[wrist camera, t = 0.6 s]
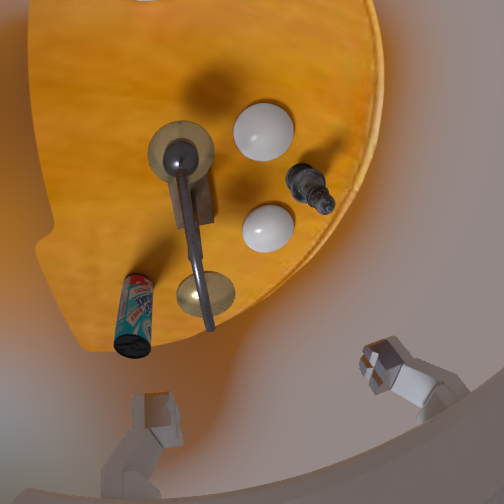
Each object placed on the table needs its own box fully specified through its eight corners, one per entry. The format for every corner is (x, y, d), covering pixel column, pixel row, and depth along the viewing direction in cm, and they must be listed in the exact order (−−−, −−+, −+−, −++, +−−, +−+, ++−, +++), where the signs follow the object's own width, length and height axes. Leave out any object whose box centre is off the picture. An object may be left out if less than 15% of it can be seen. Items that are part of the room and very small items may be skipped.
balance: (150, 117, 38) (124, 155, 22) (206, 107, 39) (222, 137, 23) (181, 264, 53) (186, 356, 37) (224, 257, 54) (246, 346, 38)
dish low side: (230, 105, 39) (231, 106, 38) (290, 101, 40) (292, 102, 40) (235, 162, 44) (236, 164, 44) (292, 156, 46) (294, 158, 45)
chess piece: (321, 166, 48) (357, 196, 38) (310, 197, 51) (341, 233, 41) (289, 158, 46) (320, 186, 36) (279, 191, 49) (304, 227, 39)
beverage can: (155, 295, 56) (154, 358, 44) (126, 296, 55) (119, 359, 43) (151, 271, 52) (146, 334, 40) (120, 273, 51) (109, 336, 39)
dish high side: (239, 208, 49) (240, 211, 48) (292, 201, 50) (294, 203, 49) (243, 253, 54) (244, 256, 54) (291, 244, 56) (293, 247, 55)
